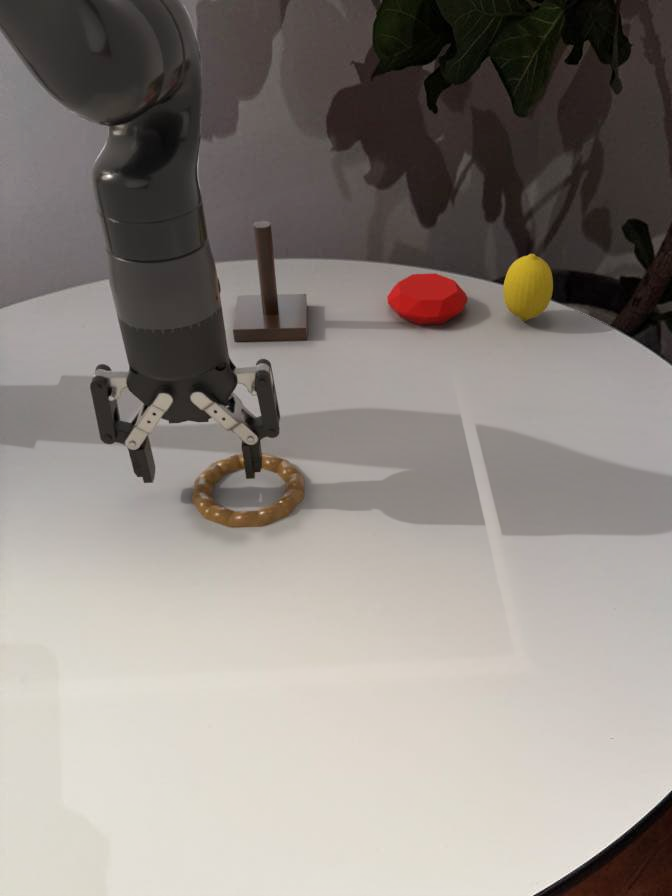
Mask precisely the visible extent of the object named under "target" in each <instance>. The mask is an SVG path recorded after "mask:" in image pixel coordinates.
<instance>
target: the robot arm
mask: <svg viewBox="0 0 672 896" xmlns="http://www.w3.org/2000/svg"><path fill="white" fill-rule="evenodd" d="M0 33H1V35H2V36H3V38H4V39H5V41H7V43H8V44H9V46H10V47H11V49H12V51H14V53H15V55H16V56H17V57H18V59H19V60H20V62H21V63H22V64H23V66H24V67H25V68H26V70H27V71H28V72H29V74H30V75H31V76H32V78H33V79H34V81H36V83H37V84H38V85H39V86H40V87H41V88H42V90H43V91H45V93H46V94H48V95H49V97H51V98H52V99H53V100H54V101H55V102H57V104H59V105H60V106H61V107H63V108H64V109H66V110H67V111H68V112H70V113H71V114H73V115H74V116H77V117H79V118H81V119H82V120H84V121H87V122H90V123H93V124H95V125H97V126H98V125H100V126H103V127H107V137H106V141H105V144H104V145H103V148H102V149H101V151H100V153H99V154H98V155H97V158H96V159H95V161H94V162H93V164H92V165H93V166H92V167H91V172H90V185H91V192H92V196H93V201H94V206H95V209H96V215H97V219H98V224H99V227H100V232H101V235H102V240H103V244H104V250H105V255H106V267H107V269H106V270H107V276H108V277H107V278H108V282H109V286H110V291H111V296H112V301H113V304H114V308H115V313H116V317H117V320H118V321H117V322H118V324H119V329H120V333H121V338H122V342H123V343H122V344H123V346H124V350H125V356H126V360H127V363H128V367H129V369H128V370H112V368H111V367H110V366H109V365H108V364H106V363H105V364H104V363H100V364H98V365H96V367H95V370H94V372H93V375H92V379H91V381H90V385H89V388H90V394H91V398H92V403H93V408H94V409H93V410H94V414H95V419H96V424H97V428H98V434H99V438H100V440H101V442H102V443H103V444H106V445H113V444H115V443H118V444H122V445H123V446H125V447H126V449H127V450H128V454H129V459H130V462H131V467H132V470H133V473H134V475H135V476H136V477H137V478H142V481H143V483H144V484H153V483H154V480H155V476H156V463H155V459H154V455H153V450H152V446H151V442H150V437H149V435H150V434H152V432H154V430H155V428H156V427H157V425H158V424H159V422H160V421H161V419H162V420H165V421H167V422H168V424H181V423H184V422H195V423H209V420H210V419H213V420H214V421H215V422H216V423H217V424H219V426H221V427H222V428H223V429H224V430H225V431H227V432H230V431H231V432H232V433H233V434H234V435H236V437H238V438H239V439H240V440H241V452H242V453H241V454H243V460H244V467H245V468H244V475H245V479H247V480H252V479H253V480H254V479H256V473H261V471H262V469H263V468H262V453H263V451H262V444H261V440H263V439H264V438H267V437H268V438H270V439H275V438H277V437H279V435H280V431H281V429H280V421H281V411H280V406H279V400H278V396H277V389H276V385H275V378H274V372H273V368H272V363H271V361H270V360H268V359H266V358H259V359H258V360H257V361H256V363H255V365H249V366H236V365H235V363H234V362H233V361H232V360H231V358H230V353H229V348H228V340H227V334H226V326H225V320H224V313H223V306H222V299H221V292H222V290H221V289H222V287H221V283H220V279H219V277H218V272H217V267H216V262H215V258H214V255H213V252H212V249H211V245H210V241H209V240H210V239H209V236H208V229H207V222H206V221H207V220H206V214H205V210H204V208H205V207H204V201H203V196H202V191H201V186H200V181H199V156H200V155H199V154H200V148H201V137H202V135H201V134H202V133H201V132H202V107H203V106H202V105H203V103H202V102H203V72H202V71H203V70H202V69H203V67H202V59H201V52H200V51H201V49H200V46H199V41H198V37H197V33H196V30H195V27H194V24H193V22H192V18H191V16H190V14H189V11H188V10H187V8H186V6H185V4H183V2H182V0H0ZM238 384H240V385H242V386H244V387H245V388H246V390H247V392H248V393H249V394H251V395H252V396H257V401H258V406H259V410H260V412H259V413H260V415H259V416H255V415H254V414H253V413H252V412H251V411H250V410H249V409H248V408H247V407H246V406H245V405H244V403H243V401H242V400H241V398H240V397H239V396H238V395H237V394H236V393H234V391H235V389H236V388H237V386H238ZM126 388H127V389H128V391H129V392H130V393H131V394H132V396H135V397H136V398H137V399H138V400H139V401H140V402H141V404H140V406H139V409H138V410H137V412H136V414H135V415H134V417H133V418H132V419H131V421H130V422H129V421H125V420H121V415H120V411H119V404H118V399H120V397H121V396H122V392H123V390H124V389H126Z"/></svg>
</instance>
